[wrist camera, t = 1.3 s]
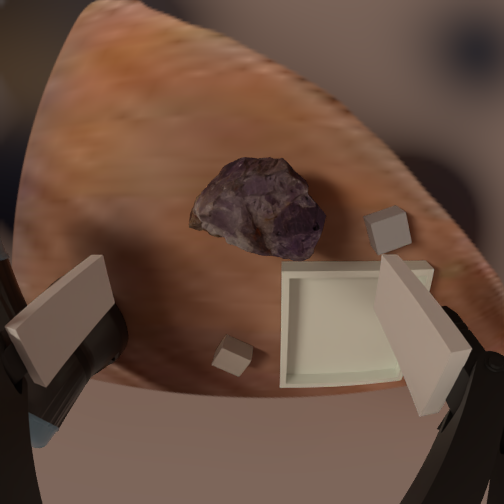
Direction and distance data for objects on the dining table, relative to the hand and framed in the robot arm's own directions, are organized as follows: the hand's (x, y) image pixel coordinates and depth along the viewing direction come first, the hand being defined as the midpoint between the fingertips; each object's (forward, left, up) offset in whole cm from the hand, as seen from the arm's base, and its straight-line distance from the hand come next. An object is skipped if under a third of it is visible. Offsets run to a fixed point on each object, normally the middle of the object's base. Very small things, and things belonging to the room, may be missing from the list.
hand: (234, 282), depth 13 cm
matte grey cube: (-4, -20, -19) cm, 28 cm away
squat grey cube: (+13, -3, -19) cm, 23 cm away
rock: (0, 0, -19) cm, 19 cm away
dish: (+11, -16, -19) cm, 27 cm away
